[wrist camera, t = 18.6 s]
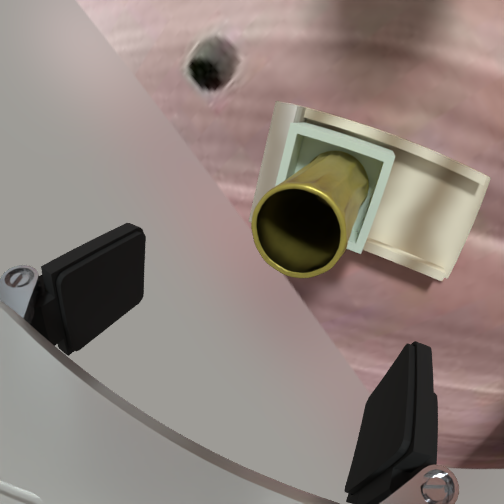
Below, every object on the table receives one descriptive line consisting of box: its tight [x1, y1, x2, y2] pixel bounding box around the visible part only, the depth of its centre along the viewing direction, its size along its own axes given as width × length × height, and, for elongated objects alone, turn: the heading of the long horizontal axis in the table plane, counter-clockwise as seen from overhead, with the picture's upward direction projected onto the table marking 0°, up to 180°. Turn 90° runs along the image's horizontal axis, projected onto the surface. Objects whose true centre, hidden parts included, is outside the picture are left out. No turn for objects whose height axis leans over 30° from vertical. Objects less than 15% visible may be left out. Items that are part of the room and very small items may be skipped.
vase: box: [251, 151, 369, 278], centre depth 23 cm, size 6×6×14 cm
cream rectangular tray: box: [249, 101, 491, 281], centre depth 29 cm, size 22×12×6 cm, turn 77°
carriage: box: [275, 123, 395, 254], centre depth 29 cm, size 9×9×6 cm
